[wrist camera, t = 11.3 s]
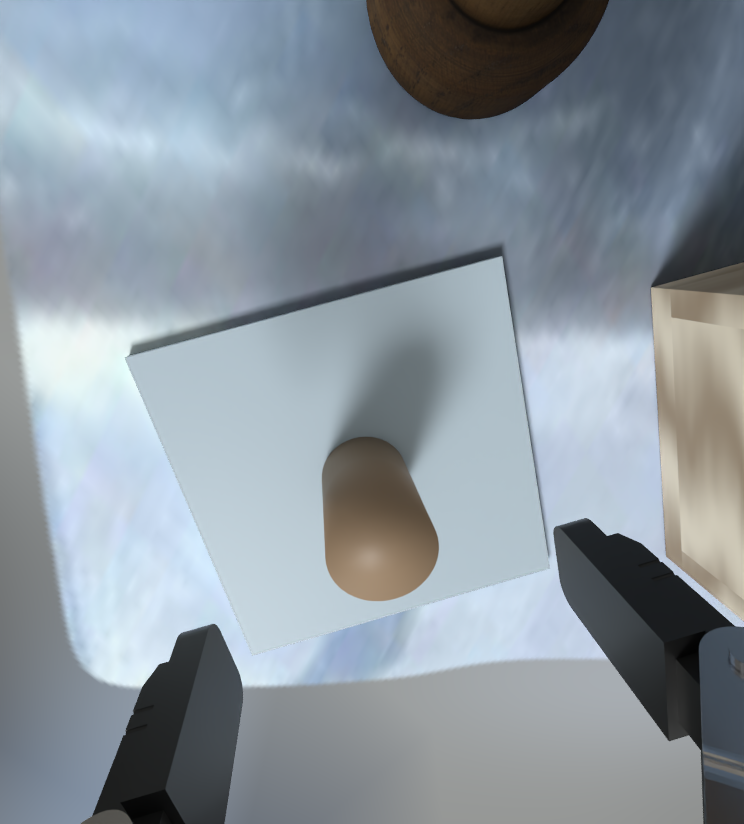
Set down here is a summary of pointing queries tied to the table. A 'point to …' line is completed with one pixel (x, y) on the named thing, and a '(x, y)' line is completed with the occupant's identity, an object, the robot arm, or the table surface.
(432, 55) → the mortar and pestle
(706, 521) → the box
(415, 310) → the lid
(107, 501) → the table surface
